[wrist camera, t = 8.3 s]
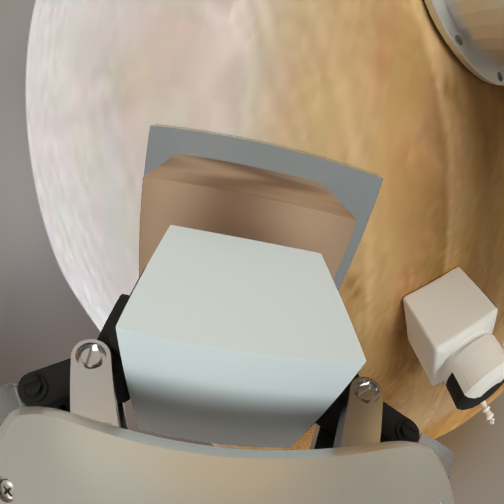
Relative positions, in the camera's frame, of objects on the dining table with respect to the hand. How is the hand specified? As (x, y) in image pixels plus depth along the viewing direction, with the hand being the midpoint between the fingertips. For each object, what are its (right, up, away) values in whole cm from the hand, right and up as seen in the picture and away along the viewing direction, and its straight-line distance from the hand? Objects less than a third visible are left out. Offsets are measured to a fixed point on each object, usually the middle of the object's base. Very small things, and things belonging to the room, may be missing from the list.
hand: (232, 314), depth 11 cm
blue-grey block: (0, 0, +1) cm, 1 cm away
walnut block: (0, +4, +7) cm, 8 cm away
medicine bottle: (+19, -3, +13) cm, 23 cm away
